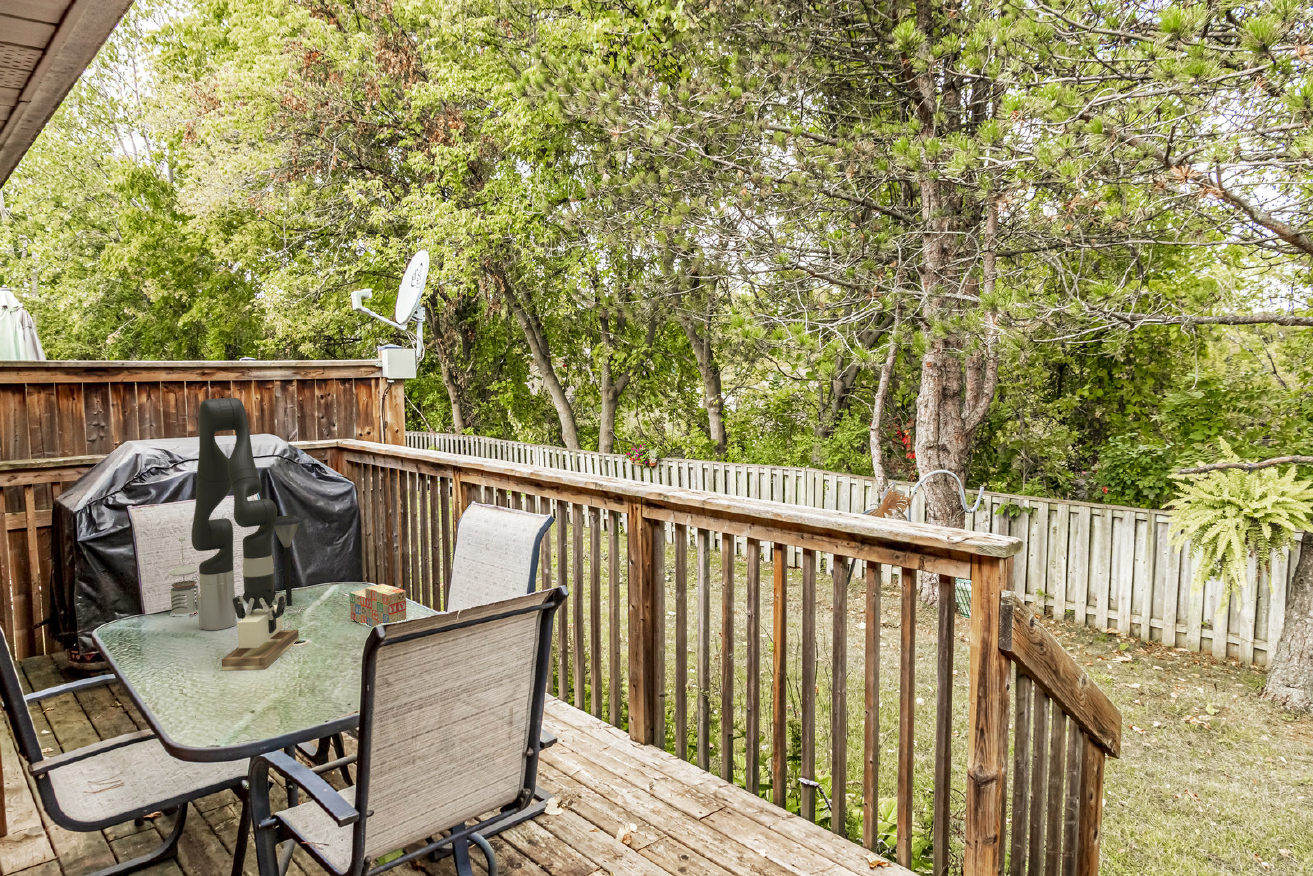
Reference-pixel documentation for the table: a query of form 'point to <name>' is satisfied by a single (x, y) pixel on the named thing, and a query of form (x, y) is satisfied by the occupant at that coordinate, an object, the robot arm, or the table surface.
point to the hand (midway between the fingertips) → (261, 632)
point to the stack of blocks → (378, 605)
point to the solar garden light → (287, 545)
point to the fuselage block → (256, 629)
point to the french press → (184, 590)
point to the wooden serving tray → (260, 652)
